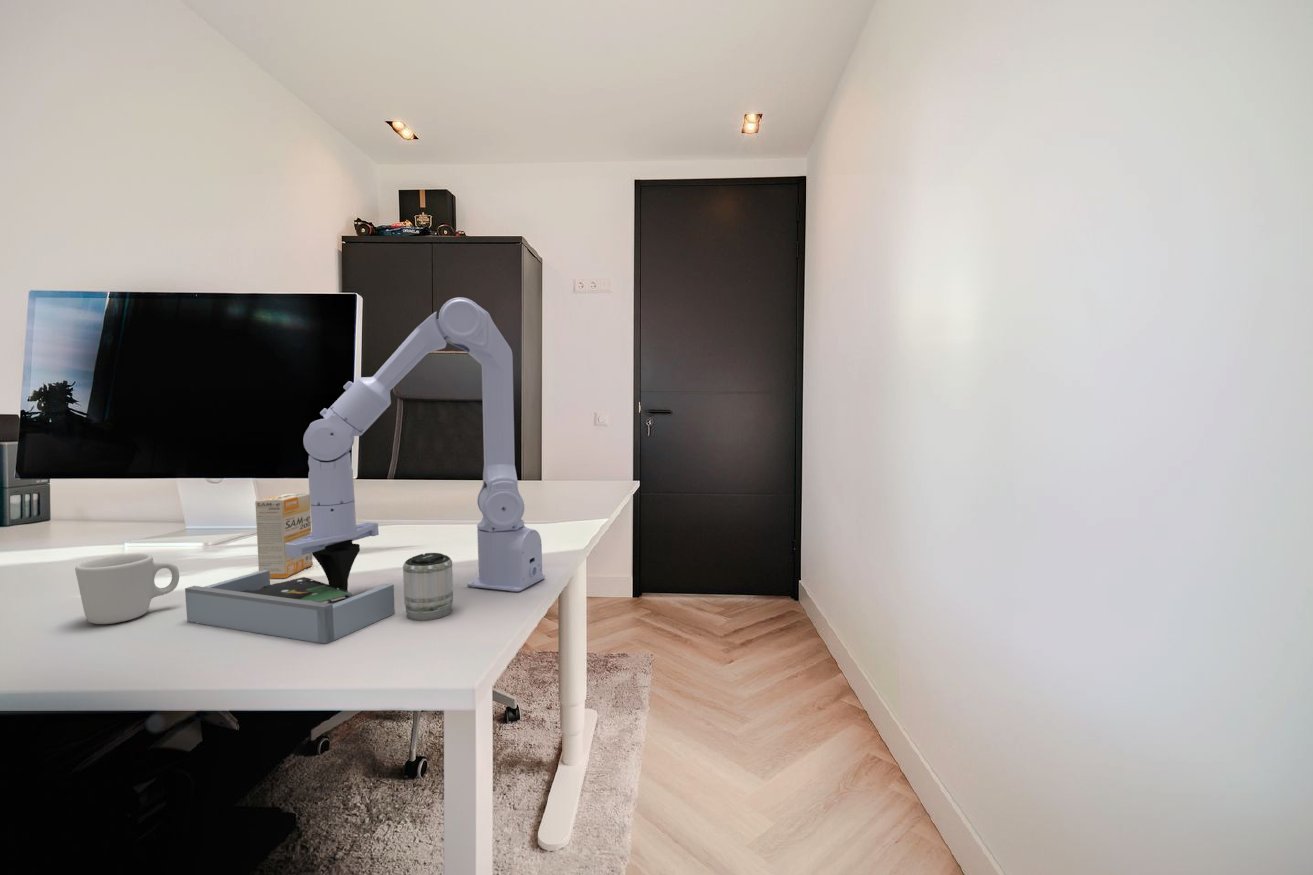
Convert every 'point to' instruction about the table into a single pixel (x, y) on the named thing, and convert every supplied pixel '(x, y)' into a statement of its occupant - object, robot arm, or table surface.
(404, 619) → the table surface
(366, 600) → the frame
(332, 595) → the disk drive
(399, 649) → the table surface
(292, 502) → the supplement box
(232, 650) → the table surface
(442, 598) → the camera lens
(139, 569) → the cup
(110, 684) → the table surface
